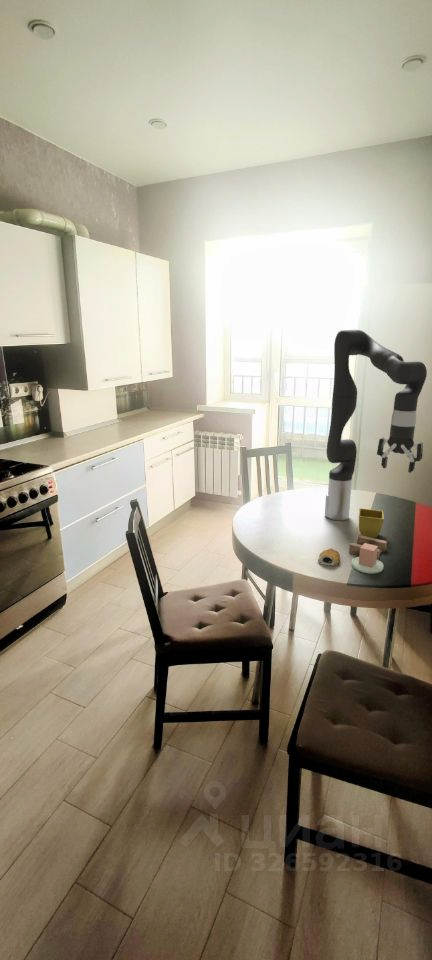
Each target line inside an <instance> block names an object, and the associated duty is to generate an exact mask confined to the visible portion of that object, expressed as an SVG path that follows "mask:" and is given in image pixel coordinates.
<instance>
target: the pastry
mask: <svg viewBox="0 0 432 960" xmlns="http://www.w3.org/2000/svg"><path fill="white" fill-rule="evenodd" d="M340 555H341V554H340V553H339V551H338V550H336V549H333V548H328V549H325V550H323V551H321V552H320V553H319V555H318V559H317V562H318V563H319V564H320V565H324V566H325V565H326V566H332V567H334V566H337V565H339V563H340V560H341V556H340Z"/></svg>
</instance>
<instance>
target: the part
mask: <svg viewBox="0 0 432 960" xmlns="http://www.w3.org/2000/svg"><path fill="white" fill-rule="evenodd" d="M377 551H378V546H375V545H371V544H367V543H364V544H363V545H362V546H361V547H360V555H358V557H359V564H360V565H363V566H367V567H371V568H372V567H373V566H374V565H375V564H376V560H377Z"/></svg>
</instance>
